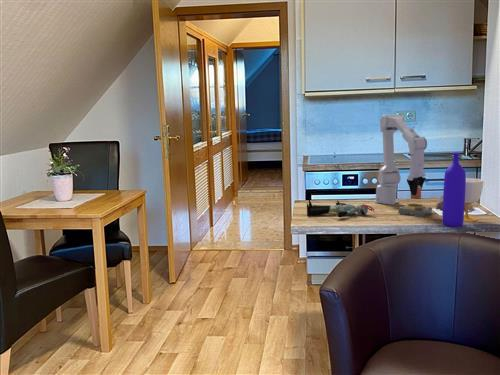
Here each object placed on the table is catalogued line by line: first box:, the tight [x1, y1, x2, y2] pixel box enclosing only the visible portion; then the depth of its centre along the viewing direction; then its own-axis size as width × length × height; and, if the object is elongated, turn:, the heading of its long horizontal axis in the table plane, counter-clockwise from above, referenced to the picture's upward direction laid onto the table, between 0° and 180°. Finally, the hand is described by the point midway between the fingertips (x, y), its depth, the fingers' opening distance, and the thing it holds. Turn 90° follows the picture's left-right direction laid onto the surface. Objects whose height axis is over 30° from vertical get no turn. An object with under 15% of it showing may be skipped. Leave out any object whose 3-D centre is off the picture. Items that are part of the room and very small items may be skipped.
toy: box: [306, 199, 375, 218], centre depth 235 cm, size 26×8×30 cm
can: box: [410, 185, 422, 200], centre depth 232 cm, size 4×4×6 cm
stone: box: [435, 195, 474, 212], centre depth 241 cm, size 17×10×10 cm
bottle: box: [442, 151, 467, 228], centre depth 209 cm, size 8×8×30 cm
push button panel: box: [398, 203, 433, 218], centre depth 233 cm, size 12×9×4 cm
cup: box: [463, 177, 484, 222], centre depth 220 cm, size 12×12×17 cm
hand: (415, 194), depth 232 cm, fingers closed on can, 4 cm apart
